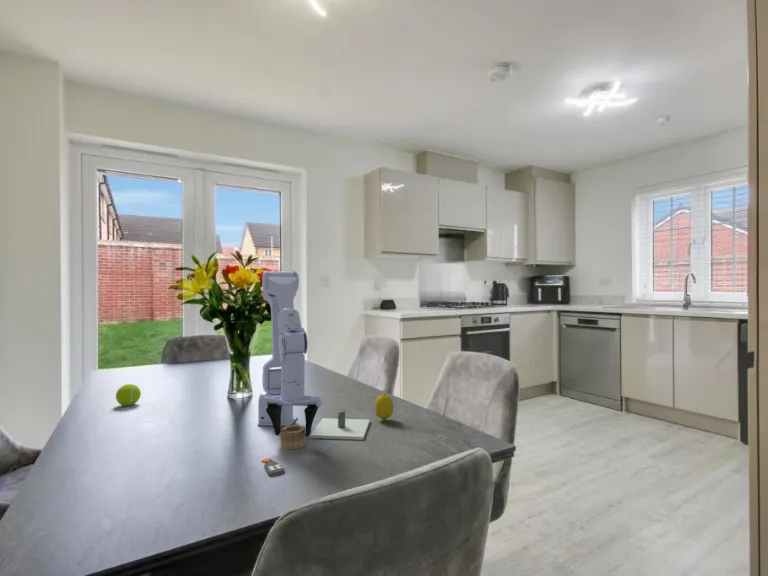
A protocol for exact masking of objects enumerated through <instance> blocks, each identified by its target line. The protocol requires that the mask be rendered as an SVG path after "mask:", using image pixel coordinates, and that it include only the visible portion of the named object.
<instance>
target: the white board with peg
mask: <svg viewBox="0 0 768 576" xmlns="http://www.w3.org/2000/svg"><path fill="white" fill-rule="evenodd" d="M370 423H371V420H370V419H367V418H366V419H364V418H363V419H362V418H361V419H360V418H357V419H356V418H346V411H345V410H338V411H337V418H332V417H331V418H325V417H323V418H321V420H320V421H319V422H318V424H317V425H316V426H315V428H314V429H313V430H312V431H311V433H310V435H309V439H320V438H322V439H325V440H327V439H328V440H350V441H351V440H353V441H354V440H355V441H357V440H358V441H359V440H360V441H363V440H364V439H365V437H366V434H367V431H368V428H369V425H370ZM322 439H321V440H322Z"/></svg>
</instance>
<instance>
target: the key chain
mask: <svg viewBox="0 0 768 576" xmlns="http://www.w3.org/2000/svg"><path fill="white" fill-rule="evenodd" d="M266 462H267V463H266ZM261 463H264V465H263V467H264V468H263V469H264V470H265V472H266V474H267V475H268V477H276V476H279V475H283V474H285V471H286V470H285V468H284V467H283V466H282V465H281V464H280V463H278V462H277V461H274V458H272V457H269V458H267V457H266V458H264V459H262V460H261Z"/></svg>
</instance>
